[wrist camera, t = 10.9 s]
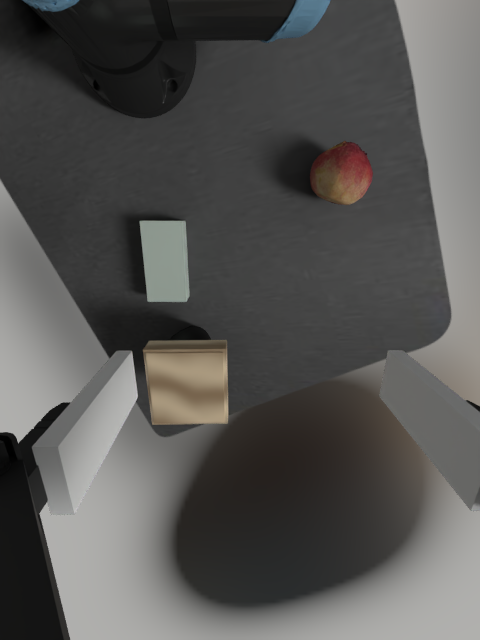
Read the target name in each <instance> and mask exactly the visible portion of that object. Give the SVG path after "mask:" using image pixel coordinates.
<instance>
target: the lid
mask: <svg viewBox="0 0 480 640" xmlns="http://www.w3.org/2000/svg"><path fill="white" fill-rule="evenodd" d="M143 354H144V362H145V370H146V378H147V386H148V394H149V402H150V410H151V418H152V425H156V424H225V423H226V424H227V423H228V376H227V340H174V341H149V342H148V343H147V345H146V346H145V348H144V349H143Z"/></svg>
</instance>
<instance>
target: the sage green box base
mask: <svg viewBox="0 0 480 640" xmlns="http://www.w3.org/2000/svg"><path fill="white" fill-rule="evenodd" d="M140 230H141V240H142V250H143V260H144V270H145V279H146V289H147V299H148V302H186V301H187V300H188V298H189V277H188V258H187V239H186V221H148V220H146V221H140Z"/></svg>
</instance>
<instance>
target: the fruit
mask: <svg viewBox="0 0 480 640" xmlns="http://www.w3.org/2000/svg"><path fill="white" fill-rule="evenodd" d="M366 155H367V153H365V152H364V151H362V150H361V148H360V147H359V146H358V145H357V144H355V143H352V142H346V141H344V142H342V143H340V144H338V145H336V146H334V147H332V148H330V149H329V150H327V151H325V152H323V153H322V154H321V155H319V156H318V157H317V158H316V160H315V161H314V162H313V165H312V168H311V172H310V183H311V187H312V189H313V191H314V192H315V193H316V195H317V196H318V197H320V198H322V199H324V200H327V201H330V202H332V203H336V204H344V205H349V204H352V203H354V202H356V201H357V200H359V199H360V198H362V197H363V195H364V194H365V193H366V191H367V190H368V187H369V186H370V184H371V181H372V176H373V172H372V168H371V165H370V162H369V160H368V158H367V156H366Z"/></svg>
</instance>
